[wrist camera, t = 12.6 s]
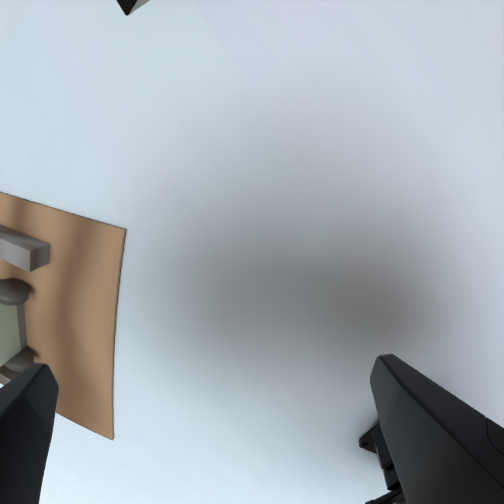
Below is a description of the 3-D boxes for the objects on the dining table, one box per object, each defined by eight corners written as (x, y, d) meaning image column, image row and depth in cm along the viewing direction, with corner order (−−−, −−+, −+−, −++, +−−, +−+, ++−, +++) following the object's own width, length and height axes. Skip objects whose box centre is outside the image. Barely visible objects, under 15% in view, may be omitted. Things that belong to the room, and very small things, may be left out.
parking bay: (126, 229, 19) (105, 237, 17) (113, 438, 24) (102, 456, 22) (-49, 177, 20) (-67, 179, 17) (-36, 348, 25) (-49, 357, 22)
